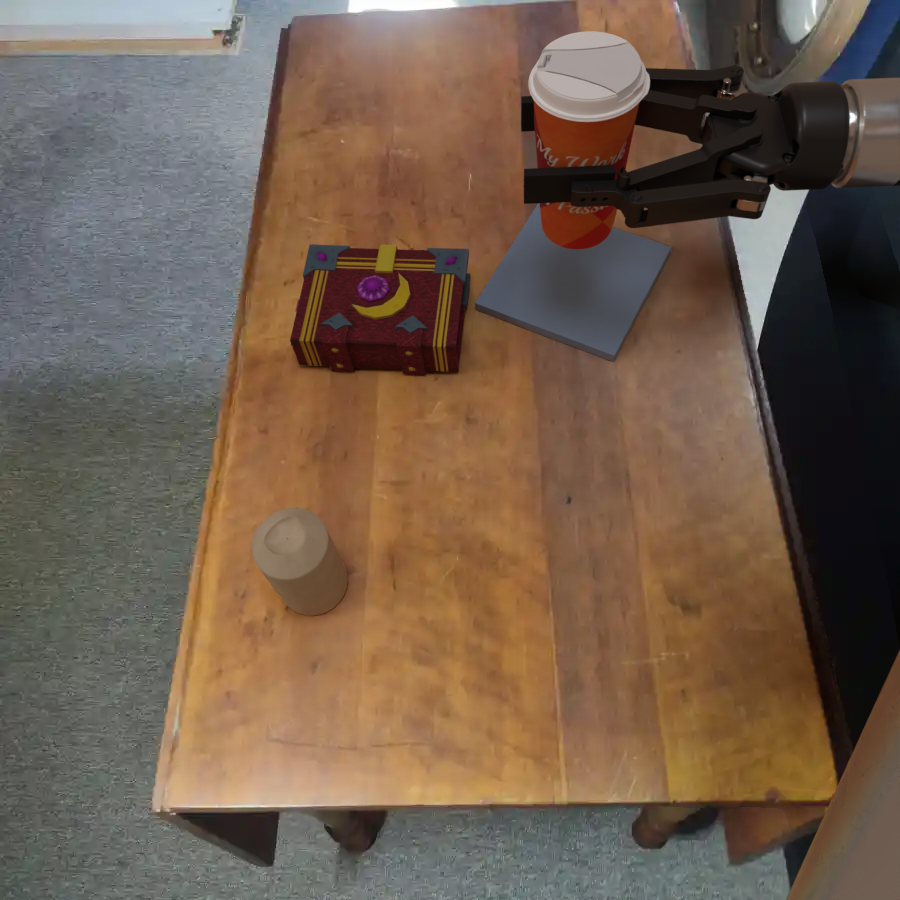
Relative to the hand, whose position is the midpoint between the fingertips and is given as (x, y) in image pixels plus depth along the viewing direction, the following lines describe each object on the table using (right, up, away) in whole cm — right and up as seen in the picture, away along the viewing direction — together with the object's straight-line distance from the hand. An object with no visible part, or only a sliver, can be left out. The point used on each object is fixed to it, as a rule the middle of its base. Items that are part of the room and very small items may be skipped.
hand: (523, 149), depth 64 cm
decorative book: (-12, -11, +16) cm, 23 cm away
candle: (-16, -34, +4) cm, 37 cm away
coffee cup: (+5, -4, +7) cm, 9 cm away
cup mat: (+6, -7, +17) cm, 19 cm away
